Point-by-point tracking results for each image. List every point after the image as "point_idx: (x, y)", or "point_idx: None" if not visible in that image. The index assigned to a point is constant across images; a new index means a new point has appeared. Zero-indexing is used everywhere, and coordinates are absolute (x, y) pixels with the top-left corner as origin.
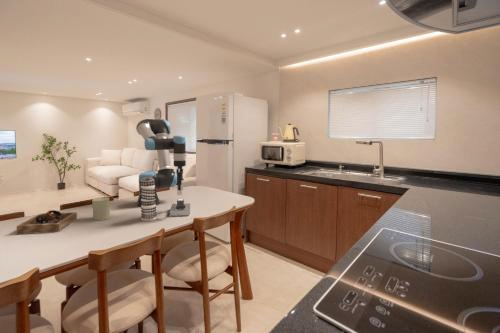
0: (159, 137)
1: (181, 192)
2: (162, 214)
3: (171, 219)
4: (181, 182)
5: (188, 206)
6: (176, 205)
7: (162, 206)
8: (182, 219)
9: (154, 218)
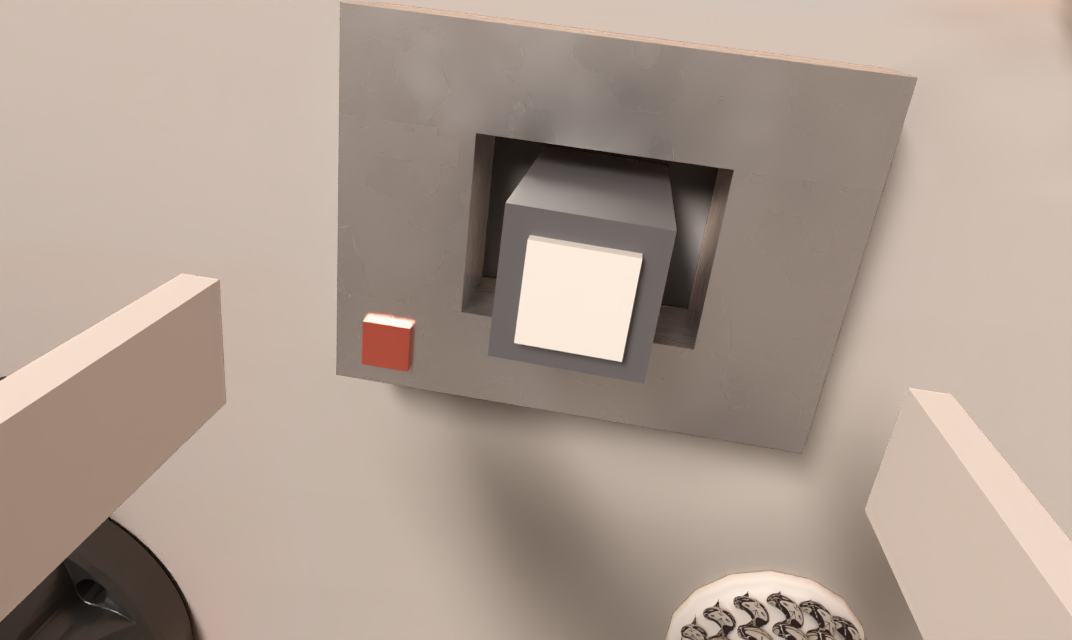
0: None
1: (990, 452)
2: (629, 488)
3: (961, 395)
4: (12, 475)
5: (599, 74)
6: (452, 310)
7: (188, 455)
8: (1062, 228)
9: (834, 604)
